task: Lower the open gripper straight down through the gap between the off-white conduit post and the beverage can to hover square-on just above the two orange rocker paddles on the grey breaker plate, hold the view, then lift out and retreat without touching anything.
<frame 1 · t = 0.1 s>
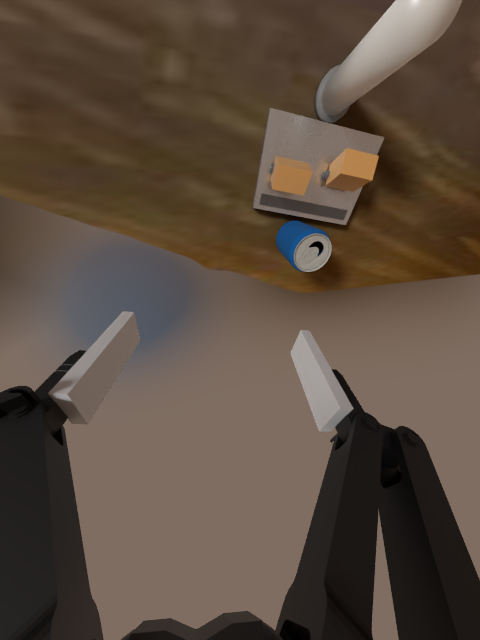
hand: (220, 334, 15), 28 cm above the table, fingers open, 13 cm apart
beverage can: (290, 237, 37), on the table
conduit post: (332, 98, 26), on the table
paddle b: (348, 173, 28), point 4 cm above the table, hinge at -20.0°
breaker plate: (309, 176, 31), on the table
paddle a: (289, 175, 27), point 4 cm above the table, hinge at 20.0°
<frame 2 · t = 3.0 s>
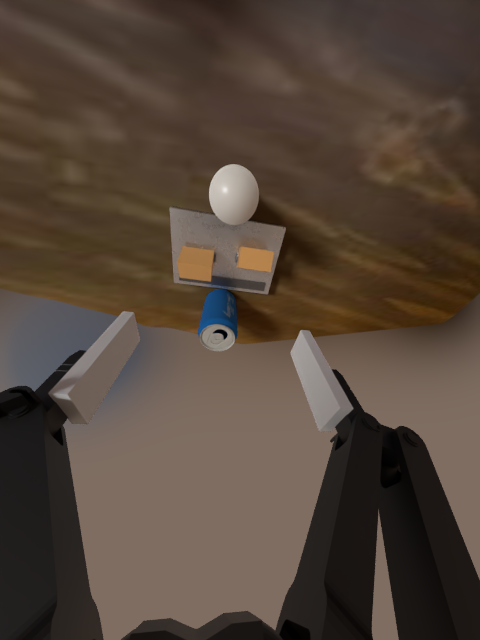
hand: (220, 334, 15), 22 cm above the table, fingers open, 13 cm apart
beverage can: (221, 300, 38), on the table
conduit post: (232, 194, 27), on the table
paddle b: (253, 260, 29), point 4 cm above the table, hinge at -20.0°
breaker plate: (226, 253, 32), on the table
paddle a: (197, 262, 29), point 4 cm above the table, hinge at 20.0°
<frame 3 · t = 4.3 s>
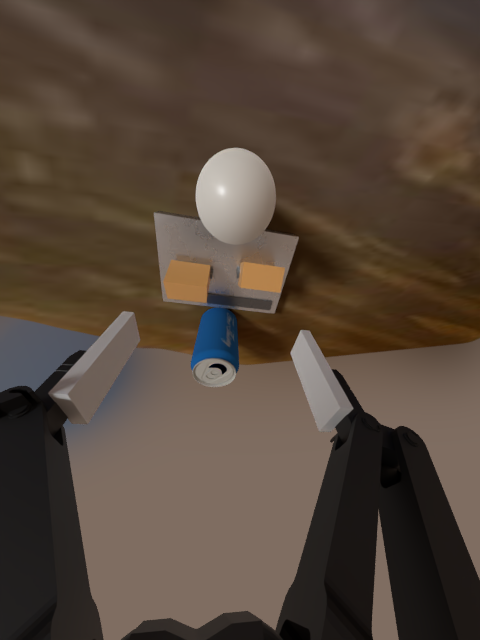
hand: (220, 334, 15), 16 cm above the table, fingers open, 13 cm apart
beverage can: (219, 319, 33), on the table
conduit post: (233, 195, 22), on the table
paddle b: (259, 276, 24), point 4 cm above the table, hinge at -20.0°
breaker plate: (225, 267, 27), on the table
paddle a: (189, 280, 24), point 4 cm above the table, hinge at 20.0°
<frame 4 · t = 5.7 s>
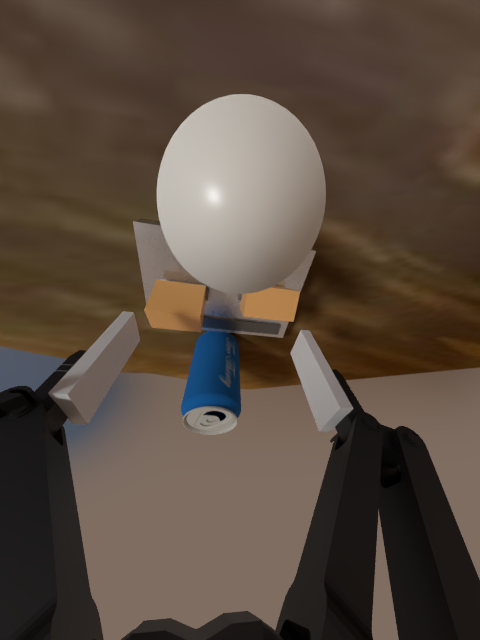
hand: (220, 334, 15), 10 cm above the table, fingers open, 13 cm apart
beverage can: (217, 342, 28), on the table
conduit post: (234, 199, 17), on the table
paddle b: (266, 300, 19), point 4 cm above the table, hinge at -20.0°
breaker plate: (224, 284, 23), on the table
paddle a: (179, 304, 19), point 4 cm above the table, hinge at 20.0°
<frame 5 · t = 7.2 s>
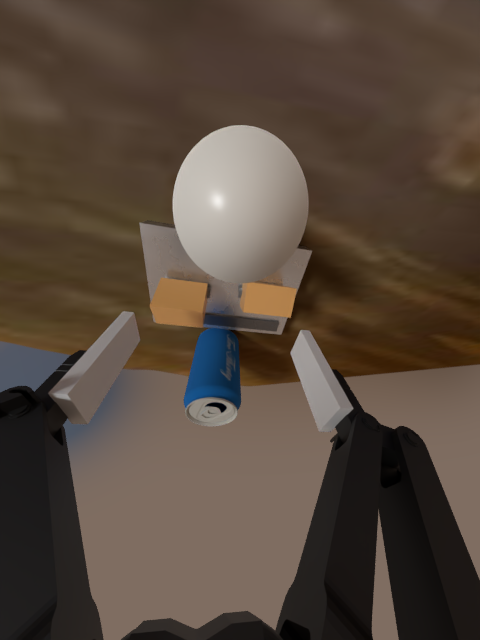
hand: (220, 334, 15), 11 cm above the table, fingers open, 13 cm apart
beverage can: (218, 339, 29), on the table
conduit post: (234, 202, 18), on the table
paddle b: (264, 297, 20), point 4 cm above the table, hinge at -20.0°
breaker plate: (225, 283, 24), on the table
paddle a: (182, 301, 20), point 4 cm above the table, hinge at 20.0°
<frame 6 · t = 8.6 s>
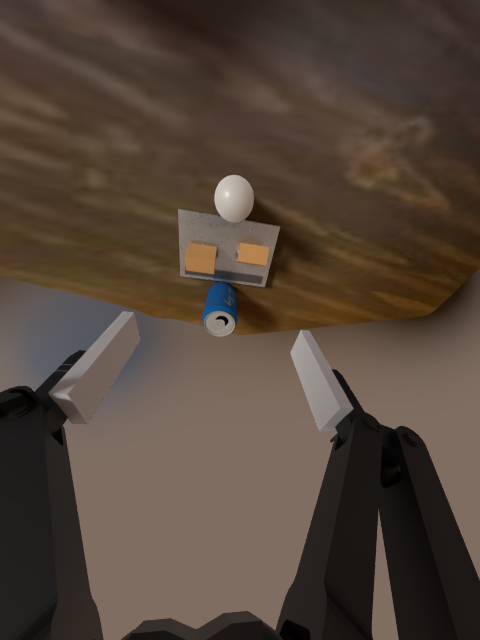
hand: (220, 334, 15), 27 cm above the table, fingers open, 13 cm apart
beverage can: (222, 293, 42), on the table
conduit post: (233, 197, 31), on the table
paddle b: (251, 255, 33), point 4 cm above the table, hinge at -20.0°
breaker plate: (227, 250, 36), on the table
paddle a: (201, 257, 33), point 4 cm above the table, hinge at 20.0°
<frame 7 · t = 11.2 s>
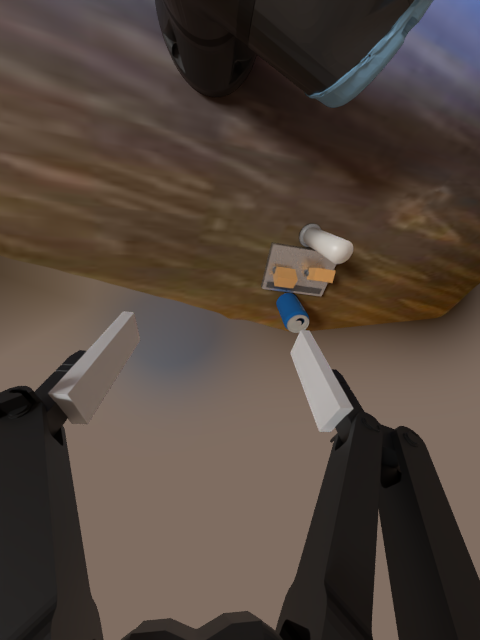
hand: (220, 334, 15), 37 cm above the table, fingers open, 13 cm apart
beverage can: (286, 300, 56), on the table
conduit post: (309, 235, 45), on the table
paddle b: (319, 275, 46), point 4 cm above the table, hinge at -20.0°
breaker plate: (297, 270, 50), on the table
paddle a: (284, 276, 46), point 4 cm above the table, hinge at 20.0°
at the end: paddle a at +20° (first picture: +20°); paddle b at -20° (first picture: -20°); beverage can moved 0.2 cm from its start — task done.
